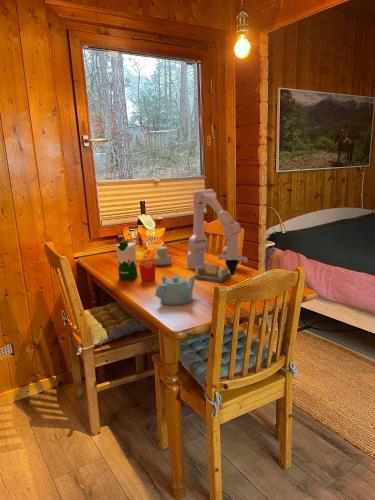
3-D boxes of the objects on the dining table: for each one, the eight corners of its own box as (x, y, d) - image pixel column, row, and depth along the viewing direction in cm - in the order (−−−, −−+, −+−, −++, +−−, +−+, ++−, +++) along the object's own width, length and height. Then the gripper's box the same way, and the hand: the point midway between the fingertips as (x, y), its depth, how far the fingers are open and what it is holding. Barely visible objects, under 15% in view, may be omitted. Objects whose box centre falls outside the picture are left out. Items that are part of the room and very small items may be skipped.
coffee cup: (238, 270, 194) (238, 249, 191) (222, 270, 196) (222, 248, 192) (239, 266, 202) (239, 245, 199) (224, 265, 204) (224, 244, 201)
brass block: (205, 275, 185) (205, 264, 183) (208, 273, 188) (208, 262, 186) (216, 277, 182) (216, 265, 180) (219, 275, 185) (218, 263, 183)
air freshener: (167, 267, 205) (167, 250, 202) (153, 267, 206) (152, 249, 204) (172, 261, 215) (171, 245, 213) (158, 261, 217) (157, 245, 214)
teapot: (163, 293, 166) (161, 270, 164) (196, 294, 164) (195, 271, 161) (155, 306, 152) (153, 282, 149) (190, 308, 149) (189, 283, 147)
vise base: (192, 278, 184) (192, 268, 183) (202, 272, 193) (202, 262, 192) (222, 283, 177) (221, 272, 175) (230, 276, 186) (230, 265, 184)
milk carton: (116, 280, 186) (113, 242, 181) (125, 274, 194) (122, 238, 189) (132, 281, 183) (129, 243, 178) (140, 276, 191) (137, 238, 186)
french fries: (141, 283, 180) (139, 259, 177) (139, 280, 184) (138, 257, 181) (158, 280, 183) (156, 257, 180) (155, 278, 187) (154, 255, 184)
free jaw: (217, 278, 179) (217, 270, 178) (224, 273, 185) (224, 266, 184) (221, 278, 178) (221, 270, 177) (227, 274, 184) (227, 266, 183)
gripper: (215, 248, 176) (215, 275, 179) (243, 251, 169) (243, 279, 172) (221, 244, 181) (221, 271, 185) (249, 247, 175) (248, 274, 178)
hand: (232, 274), depth 179 cm, fingers closed
